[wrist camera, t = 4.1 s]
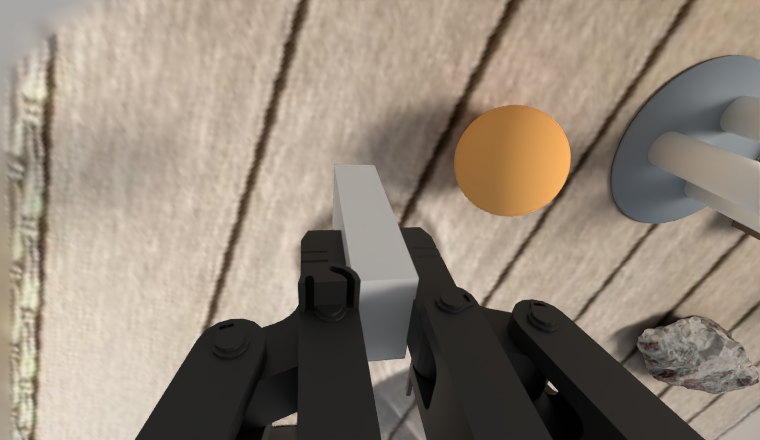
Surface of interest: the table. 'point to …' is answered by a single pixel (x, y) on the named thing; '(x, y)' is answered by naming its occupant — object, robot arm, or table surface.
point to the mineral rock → (697, 356)
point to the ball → (512, 160)
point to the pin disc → (685, 116)
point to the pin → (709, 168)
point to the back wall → (747, 230)
